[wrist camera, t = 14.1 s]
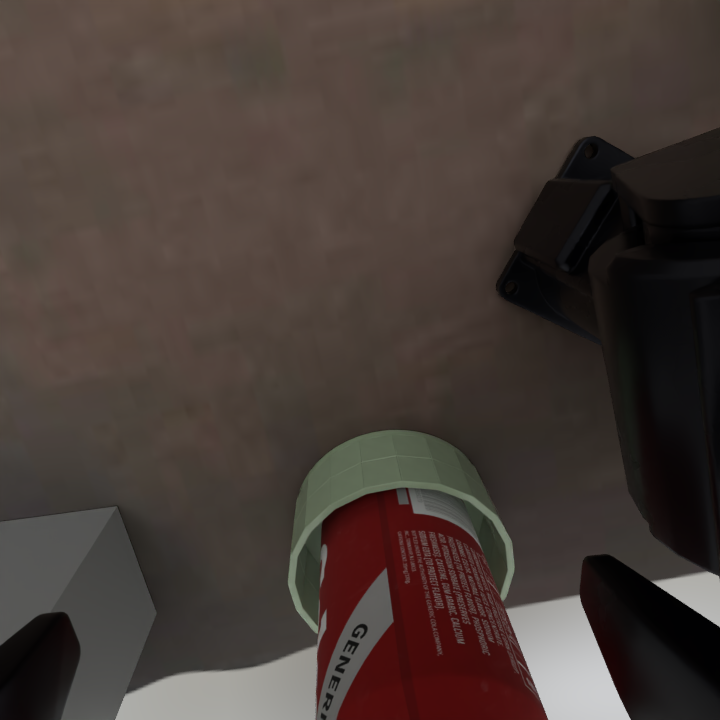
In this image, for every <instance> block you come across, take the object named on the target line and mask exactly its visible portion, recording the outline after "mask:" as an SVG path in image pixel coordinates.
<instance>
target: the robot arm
mask: <svg viewBox="0 0 720 720" xmlns="http://www.w3.org/2000/svg"><path fill="white" fill-rule="evenodd" d="M588 145H591V146H592V147H593V153H592V155H591V156H590V157H589V158H586V156H585V153H584V151H585V148H586V147H587V146H588ZM514 246H515V249H516V250H515V251H514V253H513V255H512V257H511V258H510V260H509V262H508V264H507V265H506V267H505V269H504V271H503V272H502V274H501V276H500V278H499V279H498V281H497V284H496V290H497V292H498V294H499V295H500V296H501V297H503V298H504V299H505V300H507V301H510V302H512V303H514V304H516V305H518V306H520V307H522V308H524V309H526V310H528V311H530V312H532V313H535V314H537V315H539V316H541V317H543V318H545V319H547V320H549V321H551V322H553V323H555V324H557V325H560V326H562V327H564V328H566V329H568V330H570V331H572V332H574V333H576V334H578V335H580V336H582V337H585V338H587V339H589V340H591V341H593V342H595V343H597V344H599V345H601V346H602V350H603V355H604V360H605V366H606V371H607V377H608V382H609V387H610V393H611V398H612V404H613V409H614V414H615V420H616V425H617V431H618V436H619V442H620V447H621V452H622V458H623V463H624V469H625V474H626V479H627V485H628V490H629V493H630V495H631V497H632V499H633V500H634V502H635V504H636V506H637V507H638V509H639V511H640V513H641V514H642V516H643V518H644V519H645V520H646V521H647V522H648V523H649V528H650V532H651V533H652V535H653V536H654V537H655V538H656V539H658V540H659V541H660V542H661V543H663V544H664V545H665V546H666V547H668V548H669V549H670V550H671V551H673V552H674V553H675V554H677V555H678V556H680V557H682V558H684V559H686V560H688V561H690V562H692V563H693V564H695V565H697V566H699V567H701V568H703V569H705V570H707V571H709V572H711V573H713V574H716V575H718V576H719V577H720V128H717V129H714V130H711V131H709V132H706V133H703V134H701V135H698V136H695V137H692V138H690V139H687V140H684V141H682V142H679V143H676V144H674V145H671V146H668V147H665V148H663V149H660V150H657V151H655V152H652V153H649V154H646V155H644V156H641V157H638V158H636V159H635V158H634V157H632V156H630V155H628V154H627V153H625V152H623V151H622V150H620V149H618V148H616V147H615V146H613V145H611V144H609V143H608V142H606V141H604V140H603V139H601V138H599V137H596V136H591V137H584V138H582V139H581V140H579V141H578V142H577V143H576V145H575V146H574V148H573V150H572V151H571V153H570V155H569V157H568V158H567V160H566V162H565V164H564V165H563V167H562V169H561V171H560V172H559V174H558V176H557V178H555V179H552V180H550V181H548V182H547V183H546V185H545V187H544V188H543V190H542V192H541V194H540V195H539V197H538V199H537V201H536V202H535V204H534V206H533V208H532V210H531V211H530V213H529V215H528V217H527V218H526V220H525V222H524V224H523V225H522V227H521V229H520V231H519V232H518V234H517V236H516V238H515V240H514ZM509 282H514V284H515V286H514V289H513V290H512V291H510V292H506V290H505V287H506V285H507V284H508V283H509ZM580 599H581V603H582V606H583V608H584V611H585V613H586V615H587V618H588V621H589V623H590V626H591V628H592V631H593V633H594V636H595V638H596V641H597V643H598V646H599V648H600V650H601V653H602V655H603V658H604V660H605V663H606V665H607V668H608V670H609V673H610V675H611V678H612V680H613V683H614V685H615V687H616V690H617V692H618V694H619V696H620V699H621V700H622V702H623V705H624V707H625V709H626V711H627V713H628V715H629V717H630V719H631V720H720V627H719V626H717V625H716V624H714V623H713V622H711V621H710V620H708V619H707V618H705V617H703V616H702V615H701V614H699V613H697V612H696V611H694V610H693V609H691V608H690V607H688V606H687V605H685V604H683V603H682V602H681V601H679V600H678V599H676V598H675V597H673V596H672V595H670V594H669V593H667V592H666V591H664V590H663V589H661V588H660V587H658V586H657V585H655V584H654V583H652V582H651V581H649V580H648V579H646V578H644V577H643V576H641V575H640V574H638V573H637V572H635V571H634V570H632V569H631V568H629V567H628V566H626V565H625V564H623V563H622V562H620V561H619V560H617V559H616V558H614V557H613V556H611V555H608V554H601V555H591V556H587V557H585V558H584V560H583V564H582V574H581V583H580ZM80 655H81V647H80V643H79V640H78V638H77V635H76V633H75V630H74V628H73V625H72V623H71V620H70V618H69V616H68V614H66V613H65V612H52V613H43V614H40V615H38V616H36V617H35V618H34V619H32V620H31V621H30V622H29V623H27V624H26V625H25V626H24V627H22V628H21V629H20V630H19V631H17V632H16V633H15V634H14V635H13V636H11V637H10V638H9V639H8V640H6V641H5V642H4V643H3V644H1V645H0V720H61V719H62V716H63V712H64V709H65V706H66V703H67V699H68V696H69V693H70V690H71V687H72V683H73V680H74V677H75V674H76V670H77V667H78V664H79V660H80Z"/></svg>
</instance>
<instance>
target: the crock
mask: <svg viewBox="0 0 720 720" xmlns="http://www.w3.org/2000/svg"><path fill="white" fill-rule="evenodd" d="M401 487H406V488H419V489H431V490H439V491H442V492H444V493H447V494H450V495H452V496H455V497H458V498H460V499H462V500H463V502H464V504H465V507H466V509H467V512H468V514H469V517H470V519H471V522H472V525H473V527H474V530H475V532H476V535H477V538H478V540H479V543H480V545H481V548H482V550H483V553H484V556H485V558H486V561H487V563H488V566H489V568H490V571H491V574H492V576H493V579H494V581H495V584H496V587H497V589H498V592H499V594H500V597H501V599H502V602H503V601H504V599H505V598H506V596H507V593H508V590H509V586H510V583H511V580H512V577H513V573H514V569H515V568H514V557H513V547H512V541H511V539H510V537H509V534H508V532H507V530H506V528H505V526H504V524H503V522H502V520H501V518H500V515H499V513H498V511H497V509H496V507H495V505H494V503H493V501H492V499H491V497H490V494H489V492H488V490H487V488H486V486H485V485H484V483H483V481H482V479H481V477H480V475H479V473H478V471H477V470H476V468H475V466H474V465H473V464H472V463H471V461H470V460H469V459H468V458H467V457H466V456H465V455H464V454H463V453H462V452H461V451H460V450H458V449H457V448H456V447H454V446H452V445H451V444H449V443H448V442H446V441H444V440H442V439H440V438H437V437H435V436H432V435H429V434H426V433H421V432H416V431H410V430H383V431H377V432H371V433H368V434H364V435H360V436H358V437H355V438H353V439H350V440H348V441H346V442H344V443H342V444H340V445H339V446H337V447H335V448H334V449H332V450H331V451H330V452H328V453H327V454H326V455H325V456H323V457H322V458H321V459H320V460H319V461H318V462H317V463H316V464H315V466H314V467H313V468H312V469H311V470H310V472H309V473H308V475H307V477H306V478H305V480H304V481H303V484H302V486H301V488H300V491H299V494H298V498H297V501H296V508H295V518H294V527H293V536H292V545H291V554H290V564H289V574H288V586H289V589H290V592H291V596H292V599H293V602H294V605H295V608H296V610H297V612H298V613H299V614H300V615H301V616H302V618H303V619H304V620H305V621H306V623H307V624H308V625H309V626H310V627H311V629H312V630H313V631H314V632H315V633H317V634H318V617H319V586H320V555H321V527H322V521H323V520H324V519H325V518H326V517H327V516H328V515H329V514H331V513H332V512H333V511H334V510H335V509H337V508H339V507H341V506H343V505H345V504H347V503H349V502H351V501H353V500H355V499H357V498H359V497H361V496H363V495H366V494H369V493H374V492H380V491H385V490H390V489H396V488H401Z"/></svg>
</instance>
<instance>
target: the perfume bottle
mask: <svg viewBox="0 0 720 720" xmlns="http://www.w3.org/2000/svg"><path fill="white" fill-rule="evenodd" d="M52 612H65V613H66V614H68V616H69V618H70V620H71V623H72V625H73V628H74V630H75V633H76V635H77V638H78V640H79V643H80V647H81V655H80V660H79V664H78V667H77V670H76V674H75V677H74V680H73V683H72V687H71V690H70V693H69V696H68V699H67V703H66V706H65V709H64V712H63V716H62V719H61V720H115V718H116V716H117V713H118V711H119V708H120V706H121V703H122V701H123V698H124V696H125V693H126V691H127V688H128V685H129V683H130V680H131V678H132V675H133V673H134V670H135V668H136V665H137V662H138V660H139V657H140V655H141V652H142V650H143V647H144V645H145V642H146V639H147V637H148V634H149V632H150V629H151V627H152V624H153V622H154V619H155V617H156V614H157V612H156V610H155V607H154V604H153V602H152V599H151V596H150V593H149V591H148V588H147V585H146V583H145V580H144V577H143V574H142V572H141V569H140V566H139V564H138V561H137V558H136V556H135V553H134V550H133V547H132V545H131V542H130V539H129V537H128V534H127V531H126V529H125V526H124V523H123V520H122V518H121V515H120V512H119V510H118V507H117V506H115V507H107V508H100V509H92V510H85V511H77V512H70V513H63V514H55V515H48V516H40V517H33V518H25V519H18V520H10V521H3V522H0V645H1V644H3V643H4V642H5V641H6V640H8V639H9V638H10V637H11V636H13V635H14V634H15V633H16V632H17V631H19V630H20V629H21V628H22V627H24V626H25V625H26V624H27V623H29V622H30V621H31V620H32V619H34V618H35V617H36V616H38V615H40V614H43V613H52Z"/></svg>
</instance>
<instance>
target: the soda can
mask: <svg viewBox="0 0 720 720" xmlns="http://www.w3.org/2000/svg"><path fill="white" fill-rule="evenodd" d="M316 681H317V682H316V712H315V713H316V714H315V720H548V718H547V716H546V713H545V710H544V708H543V705H542V703H541V700H540V698H539V695H538V693H537V690H536V687H535V685H534V682H533V679H532V677H531V674H530V672H529V669H528V667H527V664H526V661H525V659H524V656H523V654H522V651H521V649H520V646H519V643H518V641H517V638H516V636H515V633H514V630H513V628H512V626H511V623H510V620H509V617H508V615H507V613H506V610H505V607H504V605H503V602H502V599H501V597H500V594H499V592H498V589H497V587H496V584H495V581H494V579H493V576H492V574H491V571H490V568H489V566H488V563H487V561H486V558H485V556H484V553H483V550H482V548H481V545H480V543H479V540H478V538H477V535H476V532H475V530H474V527H473V525H472V522H471V519H470V517H469V514H468V512H467V509H466V507H465V504H464V502H463V500H462V499H460V498H458V497H455V496H452V495H450V494H447V493H444V492H442V491H439V490H431V489H419V488H406V487H401V488H396V489H390V490H385V491H380V492H374V493H369V494H366V495H363V496H361V497H359V498H357V499H355V500H353V501H351V502H349V503H347V504H345V505H343V506H341V507H339V508H337V509H335V510H334V511H333V512H332V513H331V514H329V515H328V516H327V517H326V518H325V519H324V520H323V521H322V527H321V555H320V586H319V617H318V650H317V679H316Z"/></svg>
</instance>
